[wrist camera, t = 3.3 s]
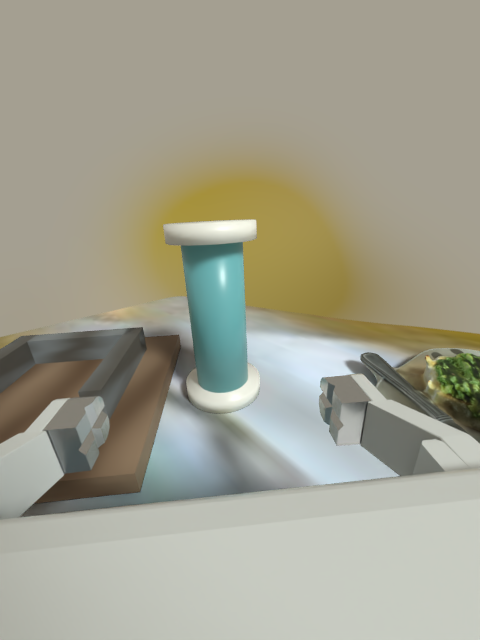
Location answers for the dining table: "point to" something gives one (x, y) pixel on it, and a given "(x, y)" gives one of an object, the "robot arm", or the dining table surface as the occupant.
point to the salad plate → (434, 385)
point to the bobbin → (217, 312)
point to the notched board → (87, 381)
